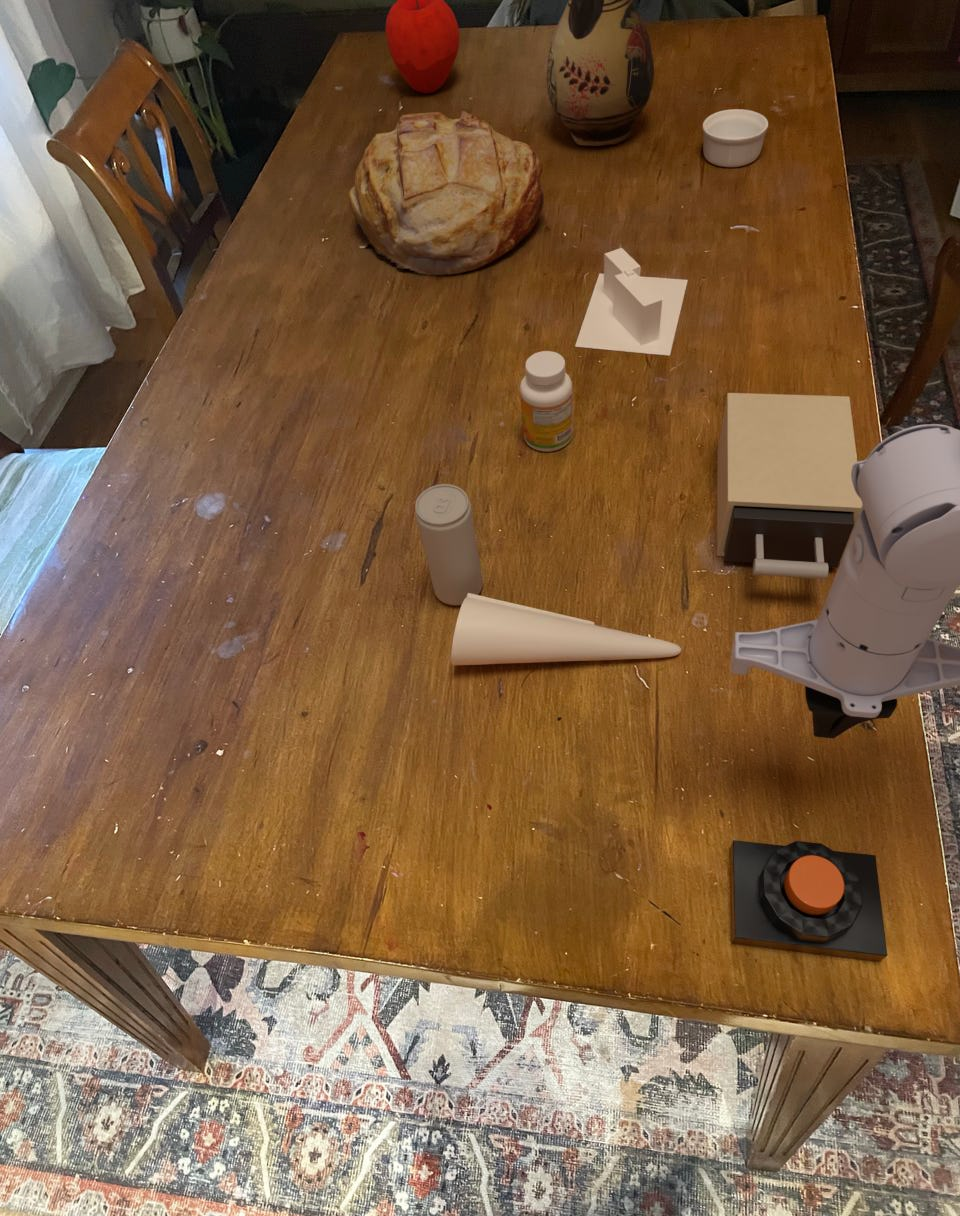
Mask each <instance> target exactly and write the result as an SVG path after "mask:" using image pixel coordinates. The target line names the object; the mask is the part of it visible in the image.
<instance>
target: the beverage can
mask: <svg viewBox="0 0 960 1216" xmlns="http://www.w3.org/2000/svg"><path fill="white" fill-rule="evenodd" d="M414 505H415V507H414V508H415V509H414V513H415V515H414V516H415V520H416V524H417V525H416V526H417V527H418V532H419V536H420V539H421V543H422V547H423V551H424V554H425V555H424V556H425V559H426V563H427V566H428V570H429V576H430V579H431V584H432V588H433V591H434V594H435V596H436V598H437V599H438V600H439V601H440V602H442V603H444V604H446V605H448V606H449V605H450V606H461V605H462V603H463V601H464V599H465V598H466V597H467V594H468V593H471V594H475V595H479V594H480V593H481V592H482V590H483V586H484V579H483V573H482V567H481V560H480V553H479V548H478V542H477V535H476V528H475V522H474V517H473V516H474V515H473V510H472V504H471V500H470V499H469V496H468V494H467V492H465V490H463V489H462V488H461V487H459V486H457V485H454V484H452V483H451V484H450V483H439V484H435V485H432V486H429V487H428V488H426V489H424V490H423V491H422V492H420V494H419V495H418V497H417V498H416V501H415V504H414Z"/></svg>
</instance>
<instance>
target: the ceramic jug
mask: <svg viewBox="0 0 960 1216" xmlns="http://www.w3.org/2000/svg"><path fill="white" fill-rule="evenodd" d="M654 78H655V64H654V55H653V49H652V44H651V39H650V36H649V32H648V29H647V27H646V25H645V23H644V20H643V18H642V16H641V14H640V12H639V10H638V8H637V7H636V4H635V2H634V0H568V1H567V3H566V6H565V7H564V10H563V12H562V14H561V16H560V19H559V21H558V22H557V26H556V28H555V31H554V32H553V36H552V39H551V42H550V47H549V50H548V58H547V66H546V89H547V95H548V99H549V100H548V101H549V103H550V104H551V107H552V109H553V112H554V113H555V115H556V116H557V117H558V119H559V120H560V121H561V122H562V123H563V124H564V125H565V127H566V128H567V129H568V130H569V133H570V136H571V137H572V139H573V141H574V143H575V144H576V145H577V146H589V147H601V146H611V145H616V144H619V143H621V142H623V141H625V140H627V139H629V138H630V137H632V136H633V135H634V130H633V126H634V124H635V121H636V120H637V119H638V118H639V116H640V115H641V114H642V112H643V110H644V109H645V108H646V105H647V104H648V101H649V99H650V96H651V92H652V90H653V87H654Z"/></svg>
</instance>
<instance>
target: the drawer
mask: <svg viewBox="0 0 960 1216" xmlns="http://www.w3.org/2000/svg"><path fill="white" fill-rule="evenodd" d="M853 527H854V515H853V514H845V513H843V511H828V510H809V509H789V508H770V507H751V506H734V507H733V512H732V517H731V521H730V527H729V532H728V537H727V541H726V546H725V551H724V556H723V557H724V560H723V561H724V562H738V563H752V564H753V565H752V574H753V575H754V576H766V577H767V576H768V577H769V576H770V577H782V578H783V577H784V578H798V579H799V578H800V579H814V580H827V579H828V576H829V568H833V569H838V568H839V566H840V564H839V562H840V560H841V557H842V555H843V552H844V550H845V547H846V544H847V542H848V539H849V537H850V534H851V532H852V529H853Z"/></svg>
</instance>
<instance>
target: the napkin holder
mask: <svg viewBox="0 0 960 1216" xmlns="http://www.w3.org/2000/svg"><path fill="white" fill-rule="evenodd" d="M603 259H604V260H603V273H602V272H601V273H598V277H597V280H596V282H595V285H594V288H593V291H592V294H591V297H590V300H589V303H588V306H587V309H586V313H585V315H584V319H583V321H582V323H581V327H580V330H579V333H578V336H577V339H576V342H575V345H574V347H575V348H585V349H596V350H605V351H606V350H607V351H615V352H627V353H638V354H648V355H658V356H669V357H670V356H671V353H672V349H673V345H674V340H675V335H676V332H677V327H678V323H679V319H680V315H681V309H682V307H683V302H684V298H685V293H686V290H687V286H688V279H681V278H667V277H652V276H641V270H642V268H641V265H640V264H639V263H638V262H637V261H636V260H635V259H634V258H633V257H632V256H631V255H630V254H629V253H628V252H627V251H626V250H625V249H624V248H623V247H619V248H617V249H614V250H611V251H609V252H608V251H607V252H605V253H604V255H603Z"/></svg>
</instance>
